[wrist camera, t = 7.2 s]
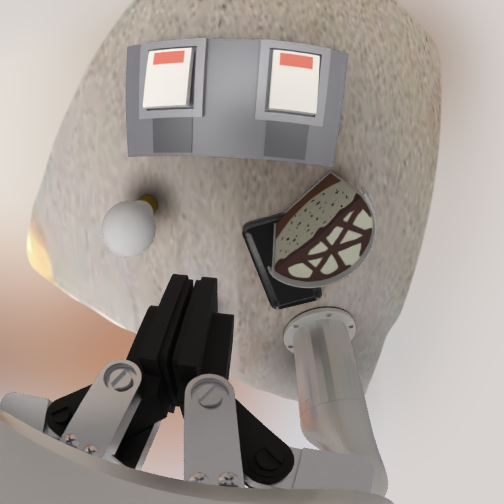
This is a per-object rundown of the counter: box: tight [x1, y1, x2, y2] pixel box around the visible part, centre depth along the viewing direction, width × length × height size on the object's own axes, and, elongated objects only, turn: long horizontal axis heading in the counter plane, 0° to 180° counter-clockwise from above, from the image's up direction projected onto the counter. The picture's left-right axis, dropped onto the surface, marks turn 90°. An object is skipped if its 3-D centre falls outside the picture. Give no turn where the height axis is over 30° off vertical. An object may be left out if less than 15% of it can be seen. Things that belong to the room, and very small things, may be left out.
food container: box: [268, 170, 376, 288], centre depth 29 cm, size 12×6×10 cm, turn 137°
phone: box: [242, 212, 322, 309], centre depth 38 cm, size 8×1×15 cm
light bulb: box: [102, 195, 157, 257], centre depth 29 cm, size 6×6×10 cm
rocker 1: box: [143, 48, 194, 109], centre depth 20 cm, size 6×4×1 cm
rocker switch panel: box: [126, 38, 348, 167], centre depth 24 cm, size 12×21×5 cm, turn 86°
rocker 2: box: [268, 50, 320, 115], centre depth 20 cm, size 6×4×1 cm
